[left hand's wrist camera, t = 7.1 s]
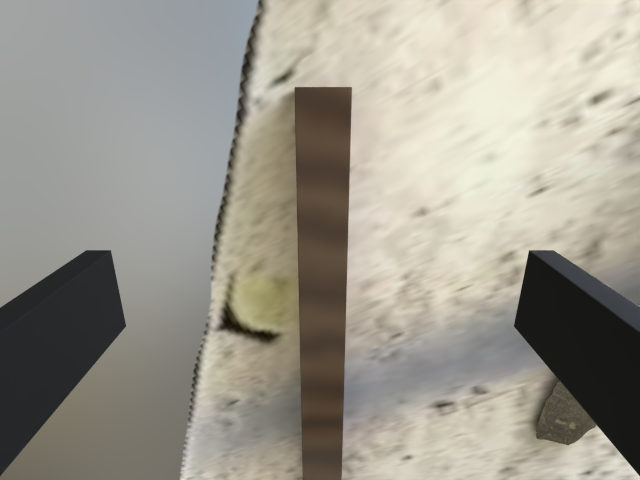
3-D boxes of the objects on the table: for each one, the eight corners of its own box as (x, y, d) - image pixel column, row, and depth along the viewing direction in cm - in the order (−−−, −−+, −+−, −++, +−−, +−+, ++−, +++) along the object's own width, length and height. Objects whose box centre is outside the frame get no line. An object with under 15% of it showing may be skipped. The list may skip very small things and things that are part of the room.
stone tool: (600, 300, 55) (518, 429, 64) (614, 310, 53) (527, 444, 61) (667, 319, 56) (578, 444, 65) (684, 330, 54) (589, 459, 62)
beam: (299, 88, 46) (294, 87, 38) (346, 88, 46) (351, 87, 38) (306, 512, 71) (304, 565, 63) (337, 512, 71) (339, 565, 63)
